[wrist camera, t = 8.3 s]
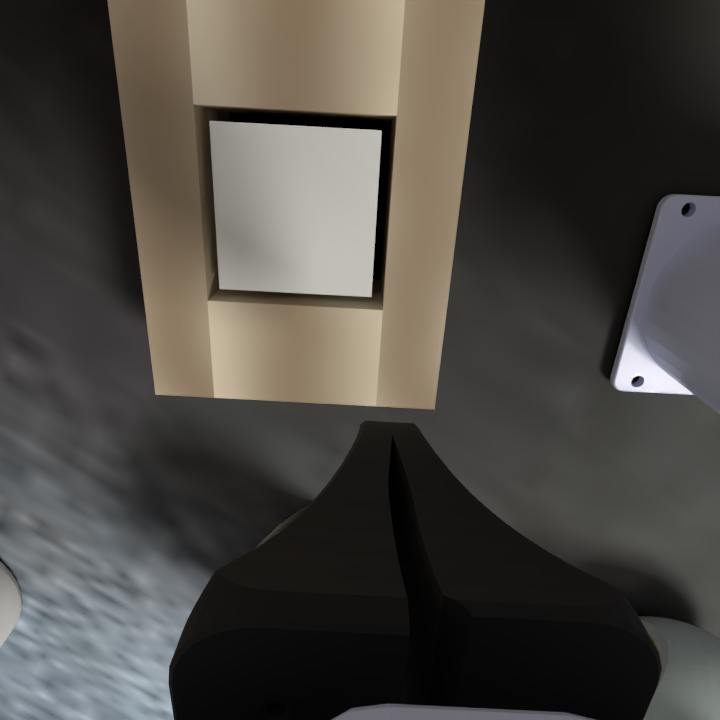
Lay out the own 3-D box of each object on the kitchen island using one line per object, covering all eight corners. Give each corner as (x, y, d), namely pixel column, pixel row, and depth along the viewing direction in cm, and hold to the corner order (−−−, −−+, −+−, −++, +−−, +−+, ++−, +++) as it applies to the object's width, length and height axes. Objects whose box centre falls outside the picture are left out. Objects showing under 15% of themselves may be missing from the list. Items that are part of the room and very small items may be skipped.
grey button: (379, 132, 17) (382, 130, 15) (371, 275, 19) (371, 297, 17) (234, 124, 17) (209, 120, 15) (240, 268, 19) (219, 289, 17)
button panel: (515, -469, 13) (574, -720, 9) (423, 364, 22) (434, 409, 18) (118, -494, 13) (15, -756, 9) (191, 352, 22) (155, 394, 18)
